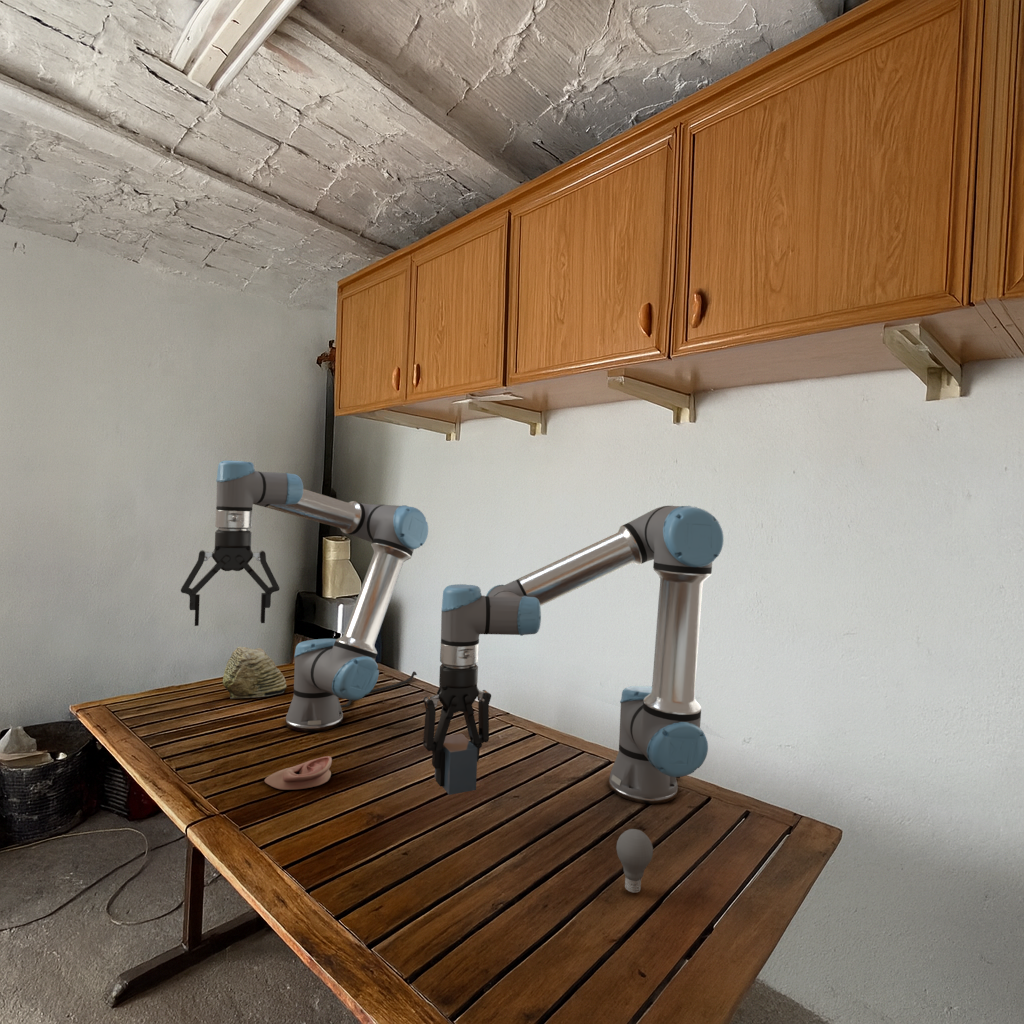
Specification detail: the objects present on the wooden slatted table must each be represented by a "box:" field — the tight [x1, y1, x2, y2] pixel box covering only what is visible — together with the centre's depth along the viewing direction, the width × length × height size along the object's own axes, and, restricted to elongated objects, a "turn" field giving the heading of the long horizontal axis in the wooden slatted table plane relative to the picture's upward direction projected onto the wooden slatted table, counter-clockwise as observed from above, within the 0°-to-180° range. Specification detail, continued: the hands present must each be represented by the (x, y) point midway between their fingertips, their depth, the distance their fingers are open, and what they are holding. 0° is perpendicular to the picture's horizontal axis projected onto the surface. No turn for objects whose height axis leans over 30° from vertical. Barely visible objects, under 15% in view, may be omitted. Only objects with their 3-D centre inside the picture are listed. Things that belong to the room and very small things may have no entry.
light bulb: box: [615, 828, 654, 894], centre depth 106 cm, size 6×6×10 cm
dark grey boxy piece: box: [434, 733, 478, 796], centre depth 125 cm, size 8×6×8 cm
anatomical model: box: [264, 755, 333, 791], centre depth 141 cm, size 13×4×12 cm
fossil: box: [222, 646, 288, 699], centre depth 198 cm, size 9×18×15 cm, turn 132°
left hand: (230, 623), depth 143 cm, fingers open, 13 cm apart
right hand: (455, 780), depth 125 cm, fingers closed on dark grey boxy piece, 6 cm apart
